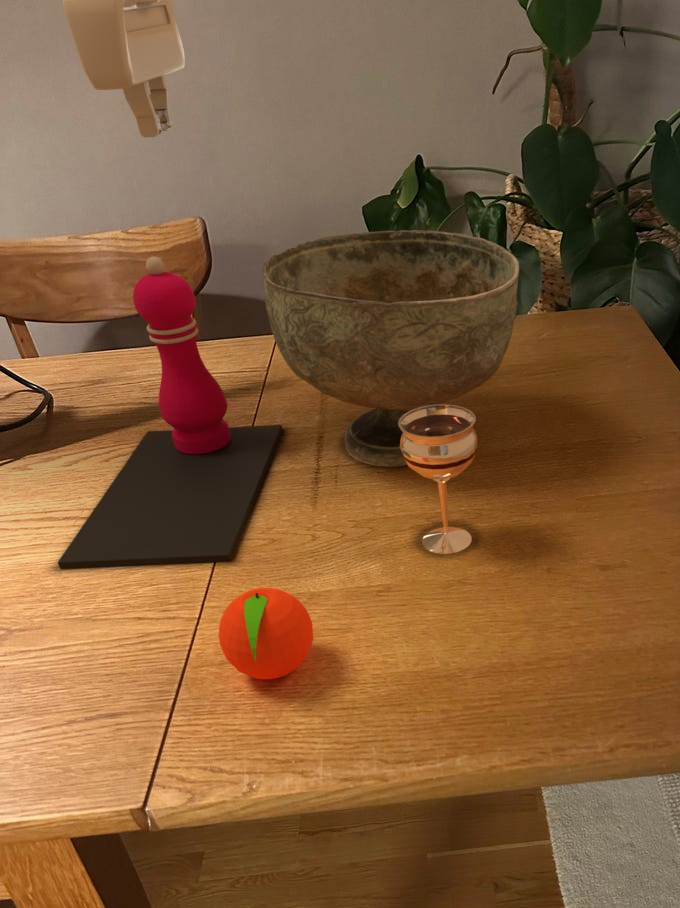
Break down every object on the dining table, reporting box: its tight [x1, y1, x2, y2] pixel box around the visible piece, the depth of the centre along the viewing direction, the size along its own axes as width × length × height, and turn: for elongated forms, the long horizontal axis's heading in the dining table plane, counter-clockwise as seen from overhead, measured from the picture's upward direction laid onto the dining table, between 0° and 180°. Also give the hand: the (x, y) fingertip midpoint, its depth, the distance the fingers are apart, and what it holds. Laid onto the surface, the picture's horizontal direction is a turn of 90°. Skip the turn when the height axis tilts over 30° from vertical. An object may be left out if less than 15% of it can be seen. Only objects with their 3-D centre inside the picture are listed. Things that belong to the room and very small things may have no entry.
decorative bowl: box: [261, 229, 520, 468], centre depth 90 cm, size 26×26×20 cm
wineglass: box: [398, 403, 478, 555], centre depth 75 cm, size 7×7×12 cm
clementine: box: [218, 587, 314, 680], centre depth 63 cm, size 8×7×7 cm
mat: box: [57, 424, 284, 570], centre depth 88 cm, size 16×28×1 cm, turn 1°
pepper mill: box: [132, 256, 231, 455], centre depth 89 cm, size 7×7×20 cm
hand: (157, 133), depth 85 cm, fingers closed
